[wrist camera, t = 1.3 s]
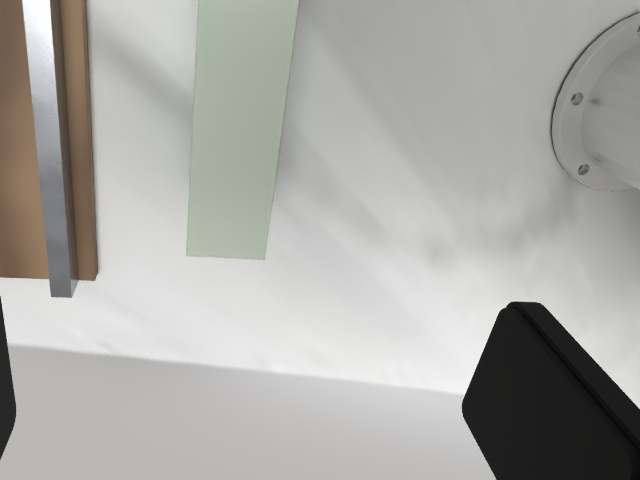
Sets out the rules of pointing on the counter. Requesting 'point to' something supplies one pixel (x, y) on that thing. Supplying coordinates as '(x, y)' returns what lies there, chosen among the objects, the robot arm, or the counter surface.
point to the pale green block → (237, 123)
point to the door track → (46, 145)
